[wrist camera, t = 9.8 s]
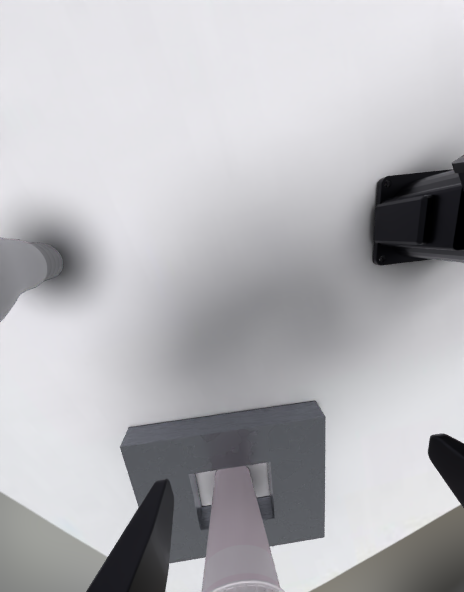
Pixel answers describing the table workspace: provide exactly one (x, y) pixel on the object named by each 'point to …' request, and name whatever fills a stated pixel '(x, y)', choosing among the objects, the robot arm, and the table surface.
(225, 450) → the square plate with hole
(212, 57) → the table surface
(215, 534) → the smoothie
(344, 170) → the table surface
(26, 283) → the lightbulb
